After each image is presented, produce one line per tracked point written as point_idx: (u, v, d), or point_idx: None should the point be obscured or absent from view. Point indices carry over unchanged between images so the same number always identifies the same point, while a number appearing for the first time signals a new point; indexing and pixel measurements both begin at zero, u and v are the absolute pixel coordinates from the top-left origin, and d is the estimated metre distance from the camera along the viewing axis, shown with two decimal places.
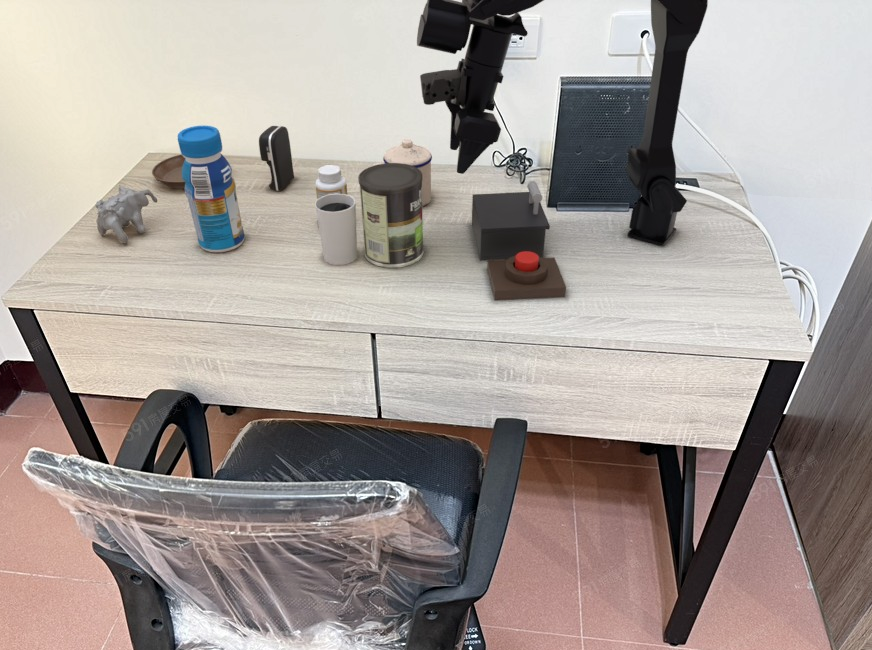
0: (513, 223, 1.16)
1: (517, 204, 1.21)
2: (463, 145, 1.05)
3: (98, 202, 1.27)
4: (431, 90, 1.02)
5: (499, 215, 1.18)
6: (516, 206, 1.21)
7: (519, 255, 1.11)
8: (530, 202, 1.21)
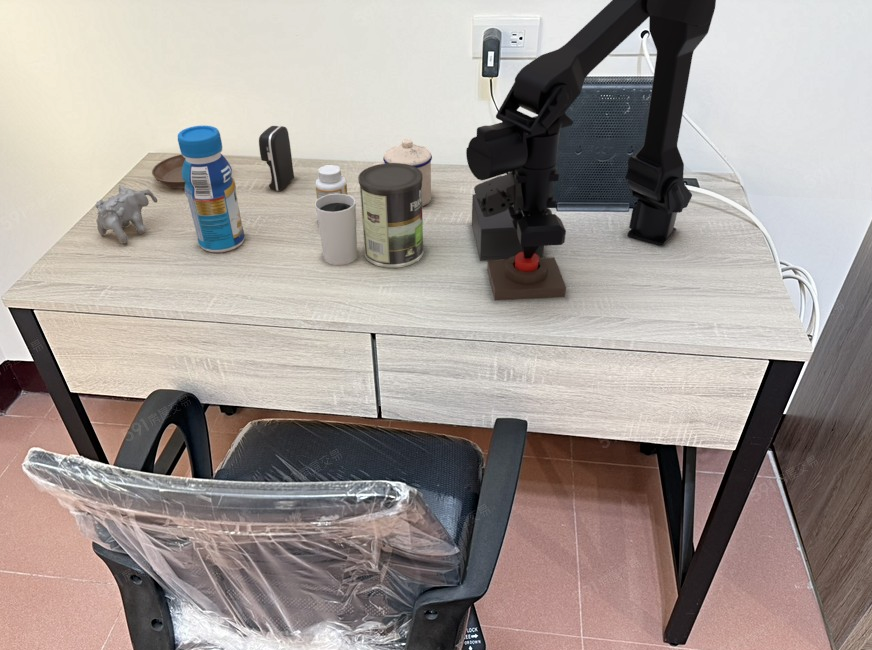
0: None
1: None
2: None
3: (98, 202, 1.27)
4: (487, 206, 1.00)
5: (499, 215, 1.18)
6: None
7: (519, 255, 1.11)
8: None
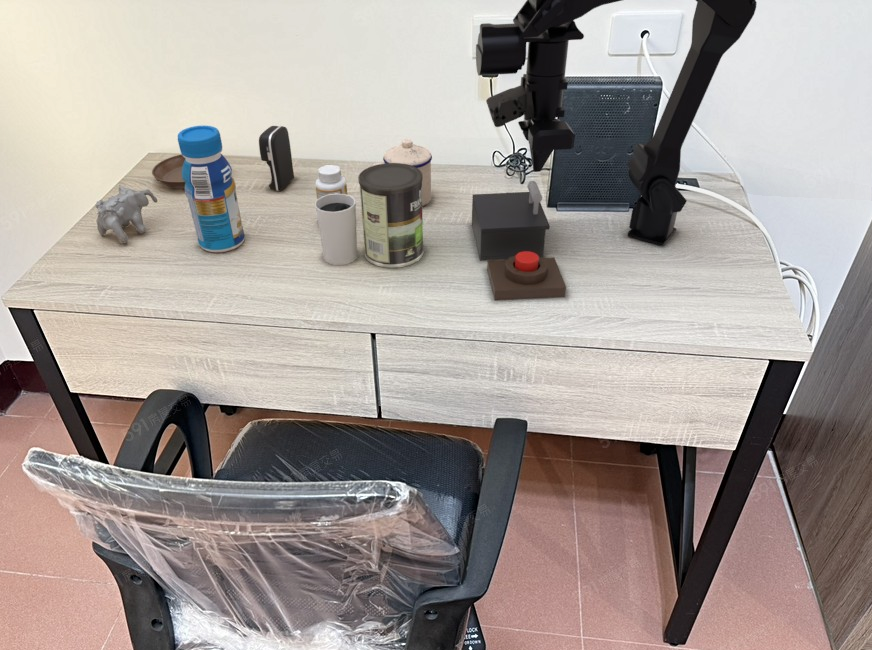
0: (513, 223, 1.16)
1: (517, 204, 1.21)
2: None
3: (98, 202, 1.27)
4: (499, 114, 1.05)
5: (499, 215, 1.18)
6: (516, 206, 1.21)
7: (519, 255, 1.11)
8: (530, 202, 1.21)
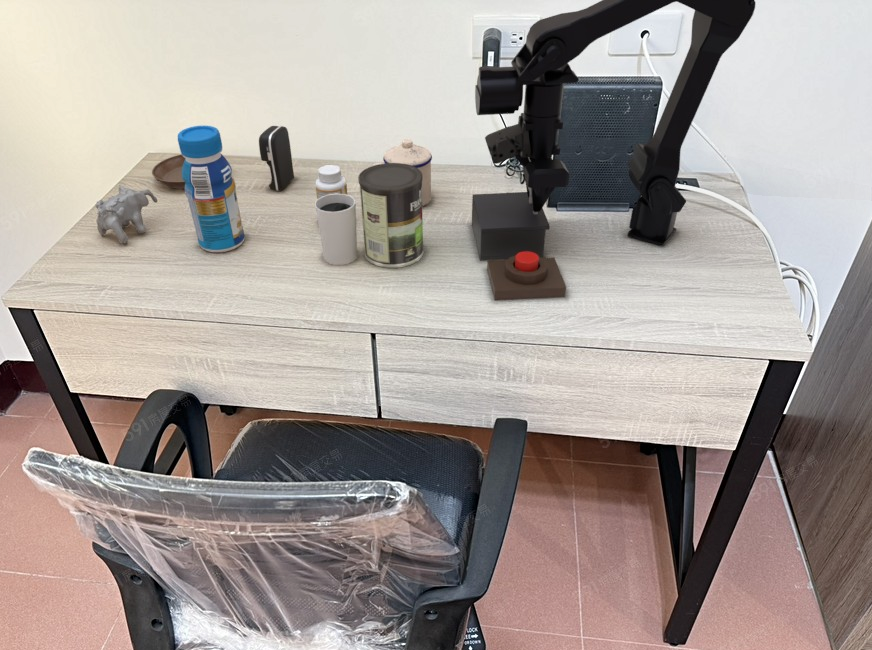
0: (513, 223, 1.16)
1: (517, 204, 1.21)
2: (534, 188, 1.13)
3: (98, 202, 1.27)
4: (497, 152, 1.09)
5: (499, 215, 1.18)
6: (516, 206, 1.21)
7: (519, 255, 1.11)
8: (530, 202, 1.21)
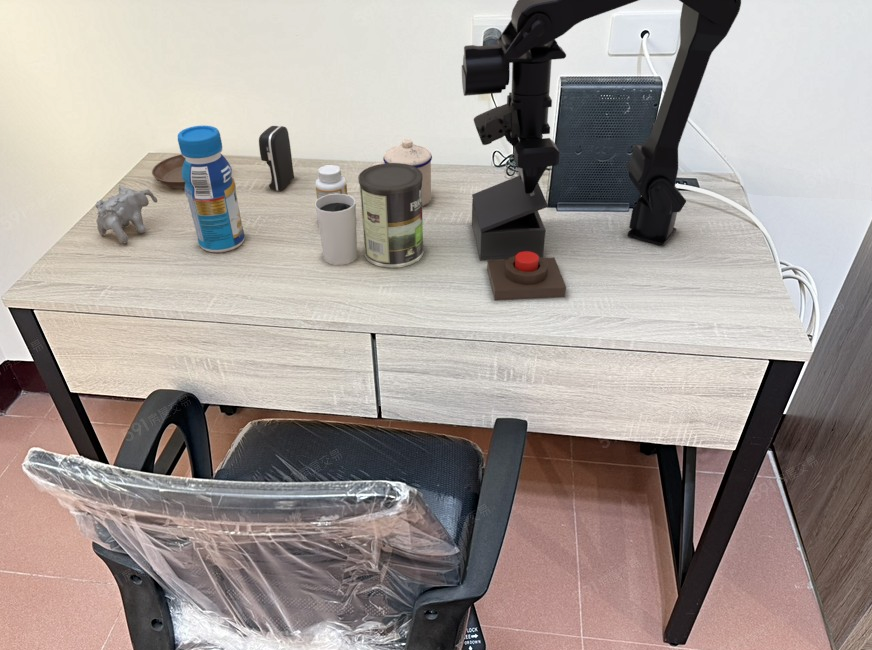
0: (511, 212, 1.15)
1: (515, 190, 1.20)
2: (525, 169, 1.11)
3: (98, 202, 1.27)
4: (485, 132, 1.07)
5: (497, 208, 1.18)
6: (514, 193, 1.19)
7: (519, 255, 1.11)
8: None
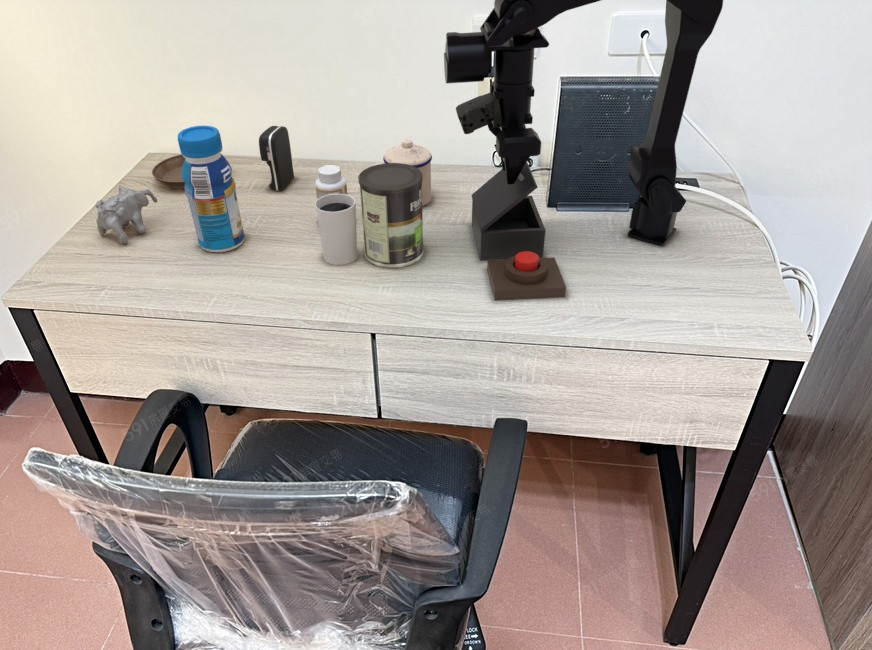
0: (505, 204, 1.14)
1: None
2: (507, 159, 1.10)
3: (98, 202, 1.27)
4: (467, 121, 1.06)
5: (493, 203, 1.17)
6: (506, 182, 1.18)
7: (519, 255, 1.11)
8: None
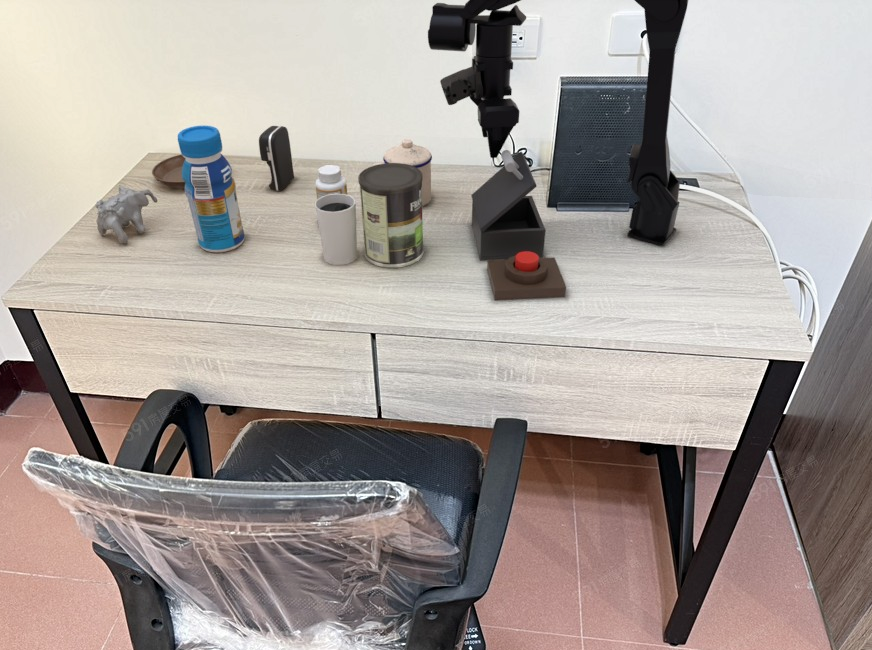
0: (504, 203, 1.14)
1: (506, 178, 1.18)
2: (490, 133, 1.16)
3: (98, 202, 1.27)
4: (450, 92, 1.14)
5: (493, 203, 1.17)
6: (506, 181, 1.18)
7: (519, 255, 1.11)
8: (516, 168, 1.17)
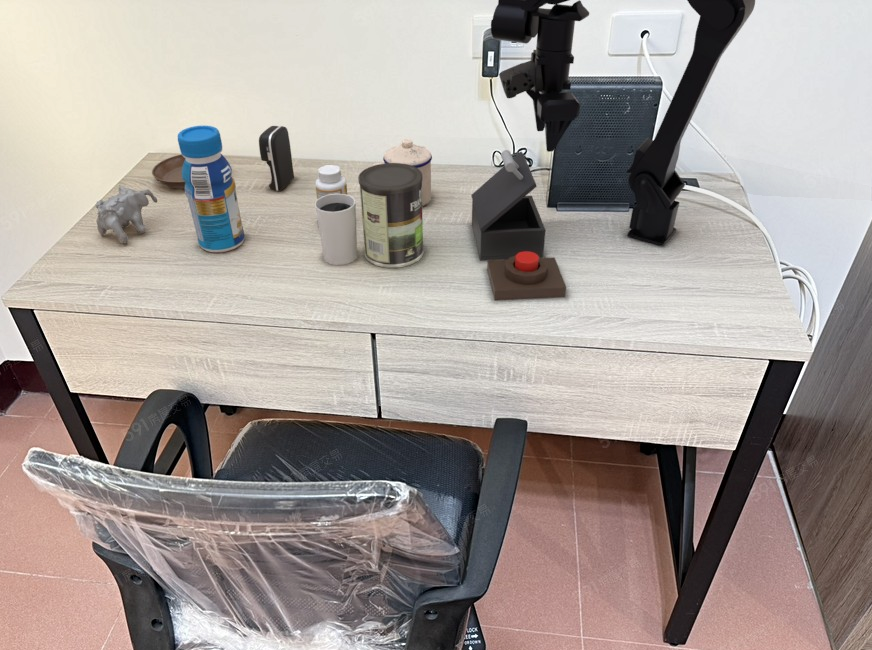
0: (504, 203, 1.14)
1: (506, 178, 1.18)
2: (548, 126, 1.17)
3: (98, 202, 1.27)
4: (511, 85, 1.15)
5: (493, 203, 1.17)
6: (506, 181, 1.18)
7: (519, 255, 1.11)
8: (516, 168, 1.17)
